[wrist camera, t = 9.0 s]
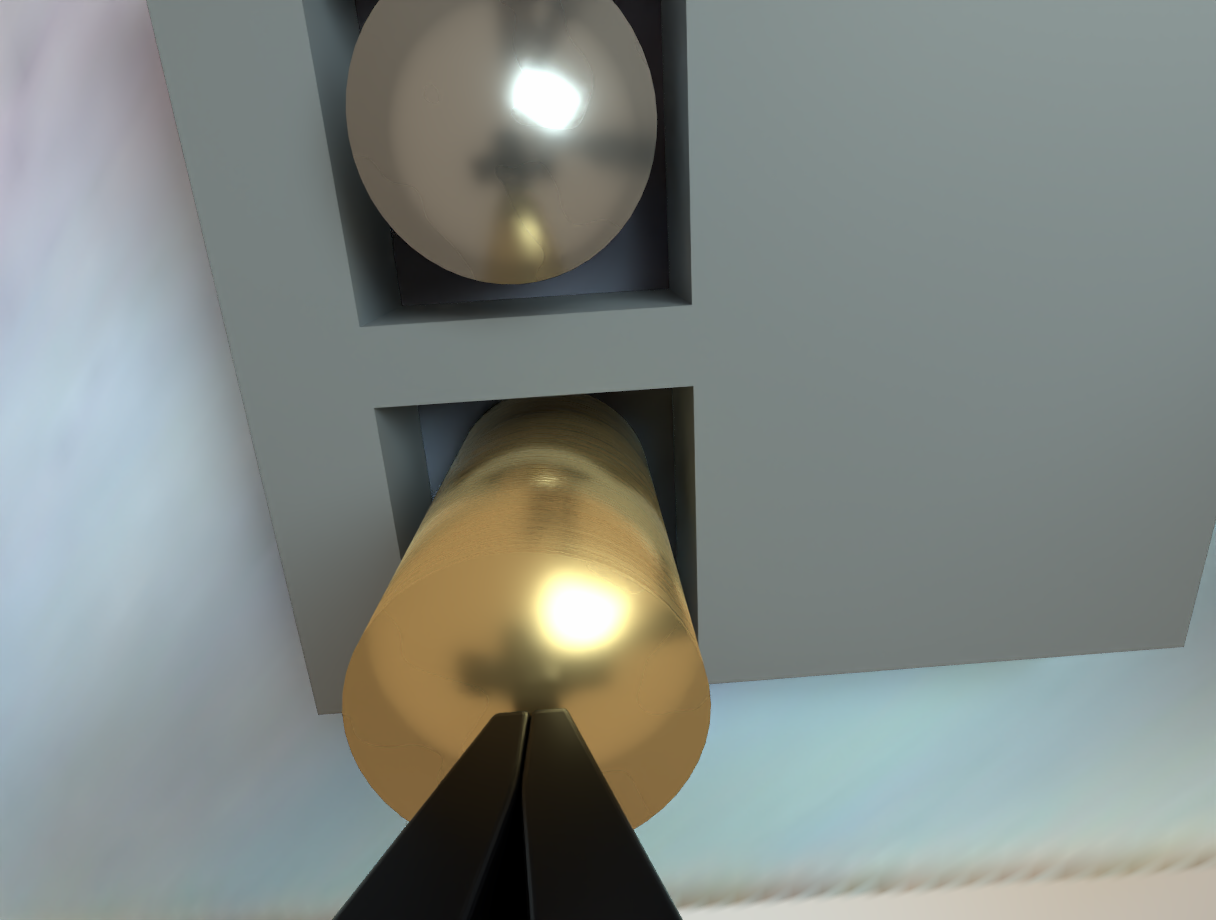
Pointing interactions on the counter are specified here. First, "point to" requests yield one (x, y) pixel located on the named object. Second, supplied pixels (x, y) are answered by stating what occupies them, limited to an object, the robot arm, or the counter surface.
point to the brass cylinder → (534, 613)
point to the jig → (778, 323)
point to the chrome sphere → (502, 130)
